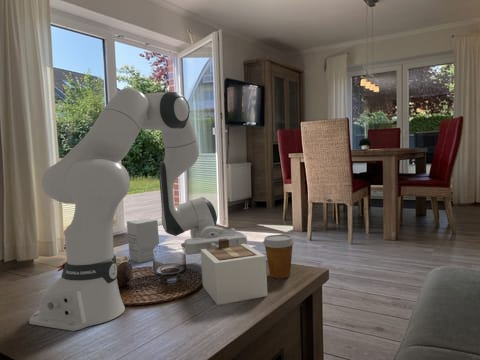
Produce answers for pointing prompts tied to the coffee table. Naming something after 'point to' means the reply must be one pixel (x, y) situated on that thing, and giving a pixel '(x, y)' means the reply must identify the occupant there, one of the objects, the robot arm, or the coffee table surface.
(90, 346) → the coffee table surface
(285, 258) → the disposable coffee cup
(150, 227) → the supplement box
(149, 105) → the robot arm
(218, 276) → the box
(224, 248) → the lid
